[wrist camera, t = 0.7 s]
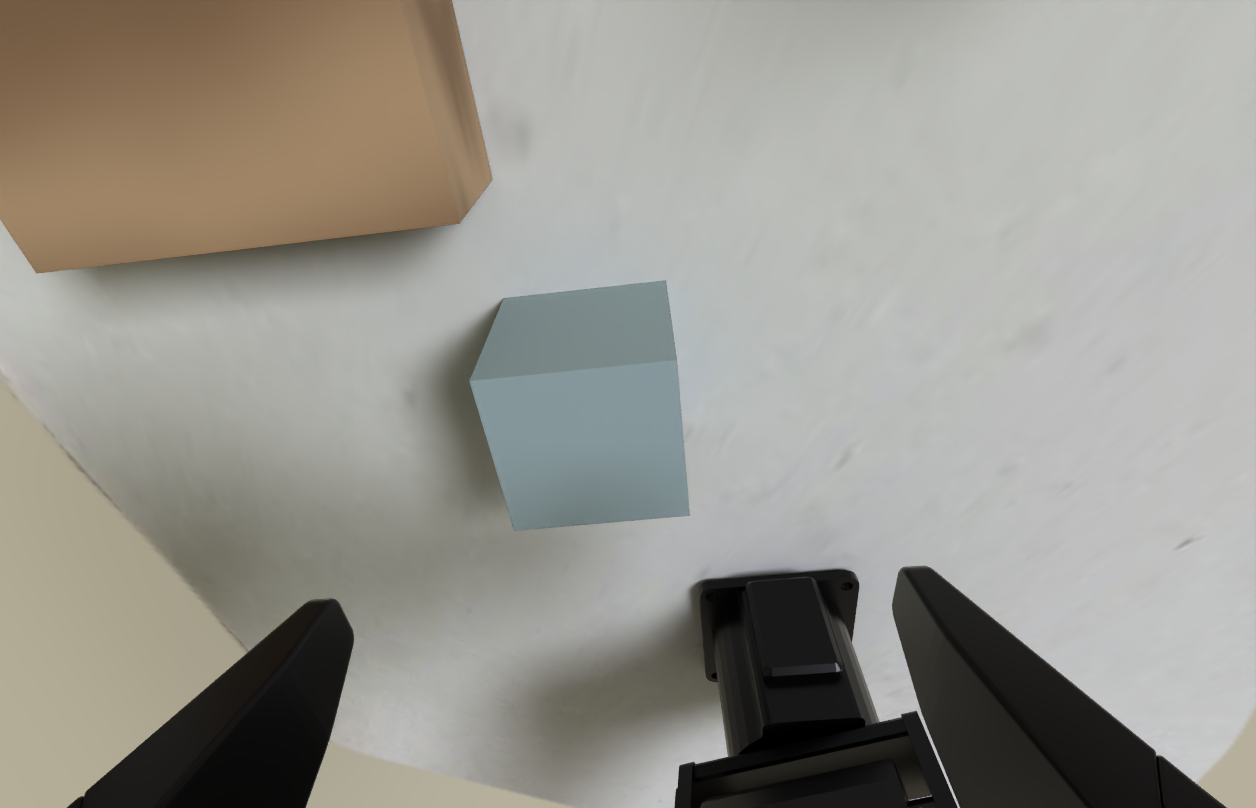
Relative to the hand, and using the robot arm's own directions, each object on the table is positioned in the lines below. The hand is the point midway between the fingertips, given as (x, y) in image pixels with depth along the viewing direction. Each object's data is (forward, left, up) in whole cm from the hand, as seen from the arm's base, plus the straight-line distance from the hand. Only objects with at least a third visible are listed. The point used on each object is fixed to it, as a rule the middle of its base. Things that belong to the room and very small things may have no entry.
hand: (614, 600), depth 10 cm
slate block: (-2, +1, -11) cm, 11 cm away
